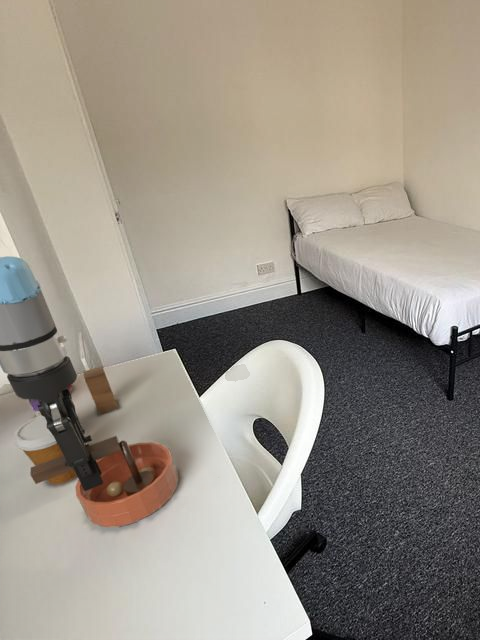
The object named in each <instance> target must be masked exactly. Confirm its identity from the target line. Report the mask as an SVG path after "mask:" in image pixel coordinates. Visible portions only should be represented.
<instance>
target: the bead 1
mask: <svg viewBox="0 0 480 640" xmlns="http://www.w3.org/2000/svg"><path fill="white" fill-rule="evenodd" d="M122 491H123V485H122V483H120V482H112V483H111V484H109V485H108V487H107V493H108V495H110V496H117V495H119V494H120V493H121V492H122Z"/></svg>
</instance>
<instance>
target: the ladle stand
mask: <svg viewBox="0 0 480 640" xmlns="http://www.w3.org/2000/svg"><path fill="white" fill-rule="evenodd" d="M82 373H83V378H84V381H85V384H86V386H87V387H88V390H89V391H88V392H89V393H90V396H91V398H92V400H93V403H94V405H95V407H96V410H97V412H98V414H99V415H102V414H105V413H109V412H112V411H114V410H118V409H119V407H118V403H117V400H116V398H115V395H114V392H113V390H112V387H111V385H110V382H109V380H108V377H107V374H106V371H105V369H104V367H103V365H102V366H98V367H94V368H91V369H87V370H84V371H82Z"/></svg>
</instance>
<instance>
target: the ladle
mask: <svg viewBox="0 0 480 640" xmlns="http://www.w3.org/2000/svg"><path fill="white" fill-rule="evenodd" d="M128 445H129V444H128V442H127V441H126V440H125V439H123V440H121V441H119V439H118V436H117V435H114V436H112V437H108V438H106V439H103V440H101V441H98V442H96V443H95V442H94V443H93V444H89V446H87V447H86V449H87V451H88V452H89V453H90V454H91V456H92V458H93V460H94V461H96V460H98V459H101V458H104V457H106V456H109V455H111V454H114V453H116V452H119V451H122V453H123V455H124V458H125V460H126V462H127V465H128V467H129V469H130V472H131V474H132V476H131V477H130V478H129V479H127V481H126V482H125V484H124V490H125V492H126V495H127V497H128V496H131V495H133V494H135V493H137V492H139V491H141V490H142V489H144V488H146V487H147V486H149V485H150V484H152V483H153V482H154V481H155V477H154V475H153V473H151V472H148V471H144V472H139V470H138V468H137V465H136V463H135V461H134V458H133V456H132V453H131V451H130V448H129V446H128ZM65 461H66V458H65V457H64V455H63V456H60V457H58V458H55V459H52V460H50V461H47V462H44V463H42V464H39V465H36V466H35V465H34V466H31V467H30V472H29V473H30V475H29V476H30V477H31V479H32V481H33V483H34V484H35V485H37V484H40V483H42V482H45V481H48V479H50V478H53V477H55V476H58V475H60V474H63V473H65V472H68V471H70V470H73V469H74V468H73V467H72V468H71V467H70V466H69V465H68V466H65Z"/></svg>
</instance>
